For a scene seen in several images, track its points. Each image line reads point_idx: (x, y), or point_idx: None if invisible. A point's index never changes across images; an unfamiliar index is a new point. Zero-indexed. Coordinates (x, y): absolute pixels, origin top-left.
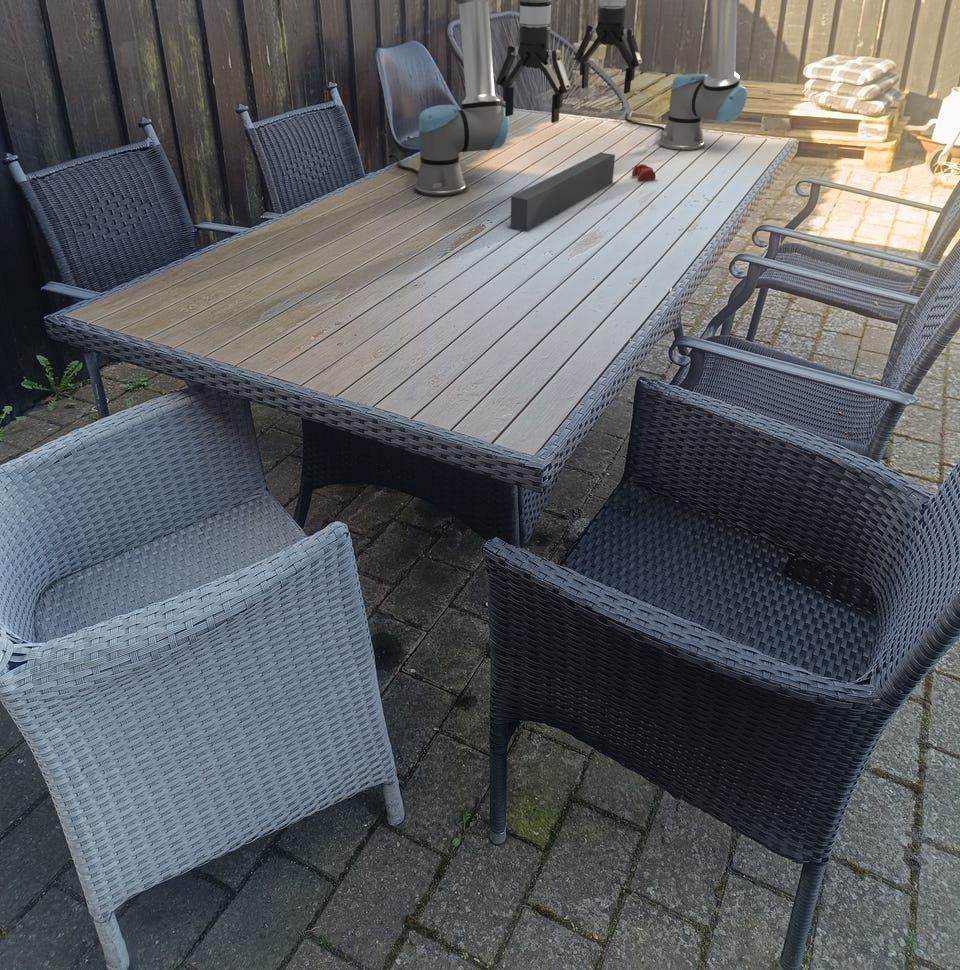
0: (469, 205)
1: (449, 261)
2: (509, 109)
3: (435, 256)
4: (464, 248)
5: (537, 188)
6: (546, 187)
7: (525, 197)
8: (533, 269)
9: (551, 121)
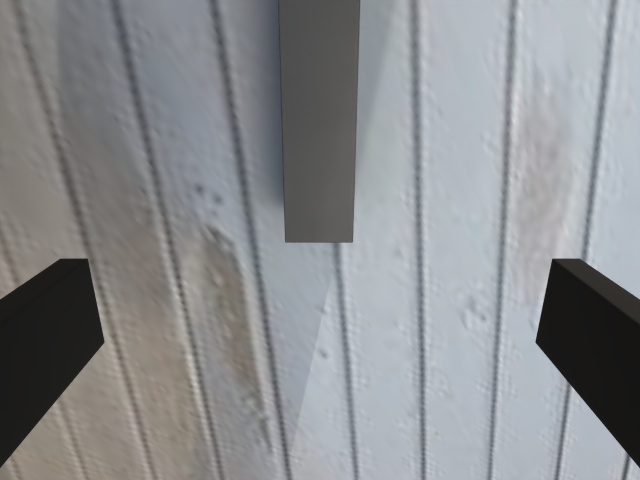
0: (48, 90)
1: (297, 453)
2: (71, 349)
3: (255, 447)
4: (278, 385)
5: (316, 99)
6: (342, 65)
7: (335, 225)
8: (479, 407)
9: (542, 347)
